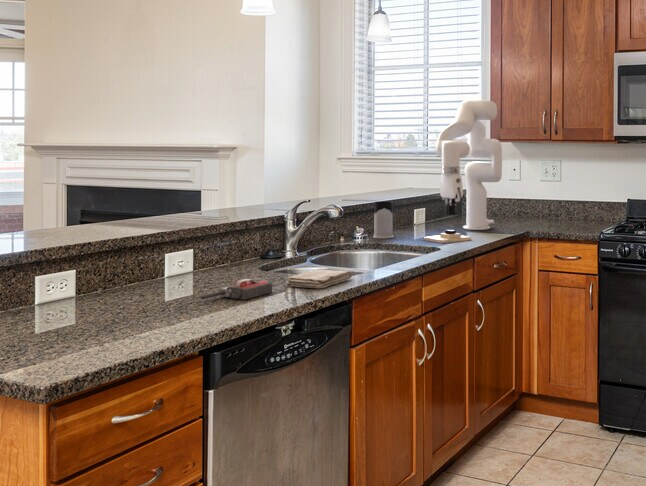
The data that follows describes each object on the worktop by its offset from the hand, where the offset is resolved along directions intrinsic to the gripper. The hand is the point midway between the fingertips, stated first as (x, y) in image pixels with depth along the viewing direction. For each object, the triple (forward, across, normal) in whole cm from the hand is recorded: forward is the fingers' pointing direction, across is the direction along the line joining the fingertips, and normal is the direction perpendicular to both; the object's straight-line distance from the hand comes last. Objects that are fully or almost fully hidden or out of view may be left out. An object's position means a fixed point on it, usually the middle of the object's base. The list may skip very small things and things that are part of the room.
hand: (450, 214), depth 310 cm
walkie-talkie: (+9, -50, +116) cm, 127 cm away
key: (+8, -1, +1) cm, 8 cm away
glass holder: (+11, +28, +15) cm, 34 cm away
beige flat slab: (+11, +1, +1) cm, 11 cm away
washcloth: (+9, -47, +89) cm, 101 cm away
